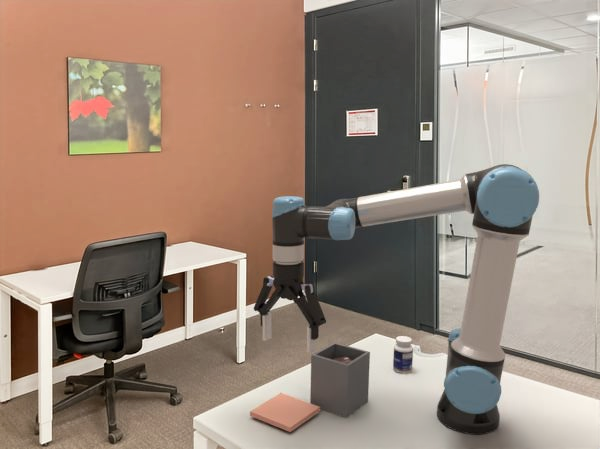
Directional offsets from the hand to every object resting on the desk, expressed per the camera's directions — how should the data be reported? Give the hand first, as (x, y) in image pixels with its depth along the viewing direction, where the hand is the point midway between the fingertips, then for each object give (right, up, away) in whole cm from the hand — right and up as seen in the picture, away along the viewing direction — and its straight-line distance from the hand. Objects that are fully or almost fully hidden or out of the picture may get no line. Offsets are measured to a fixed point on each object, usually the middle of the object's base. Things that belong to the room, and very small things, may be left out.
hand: (288, 345), depth 138 cm
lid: (-1, -18, +3) cm, 18 cm away
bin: (+13, -18, +10) cm, 24 cm away
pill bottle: (+34, -15, +32) cm, 49 cm away
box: (+13, -18, +10) cm, 25 cm away
